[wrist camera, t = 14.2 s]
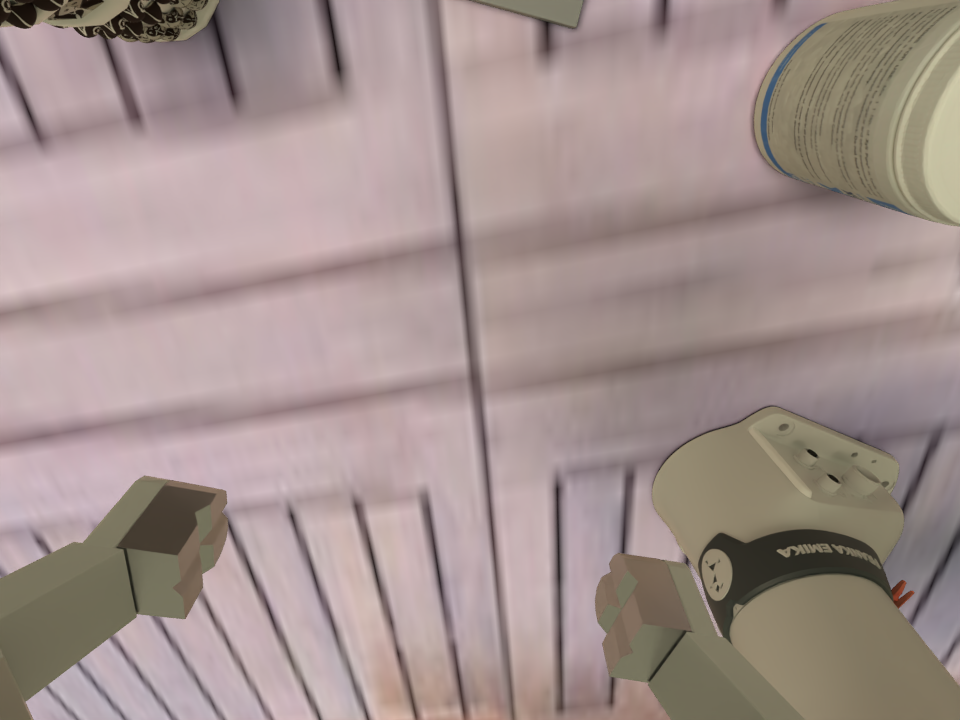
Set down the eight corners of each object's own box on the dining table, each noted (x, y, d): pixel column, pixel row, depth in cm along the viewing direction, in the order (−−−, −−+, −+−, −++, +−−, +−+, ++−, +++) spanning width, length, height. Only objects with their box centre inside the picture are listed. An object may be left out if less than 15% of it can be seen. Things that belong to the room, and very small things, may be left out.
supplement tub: (764, 201, 35) (923, 274, 23) (732, 63, 31) (903, 57, 18) (914, 131, 33) (1185, 169, 20) (901, -28, 29) (1231, -107, 16)
